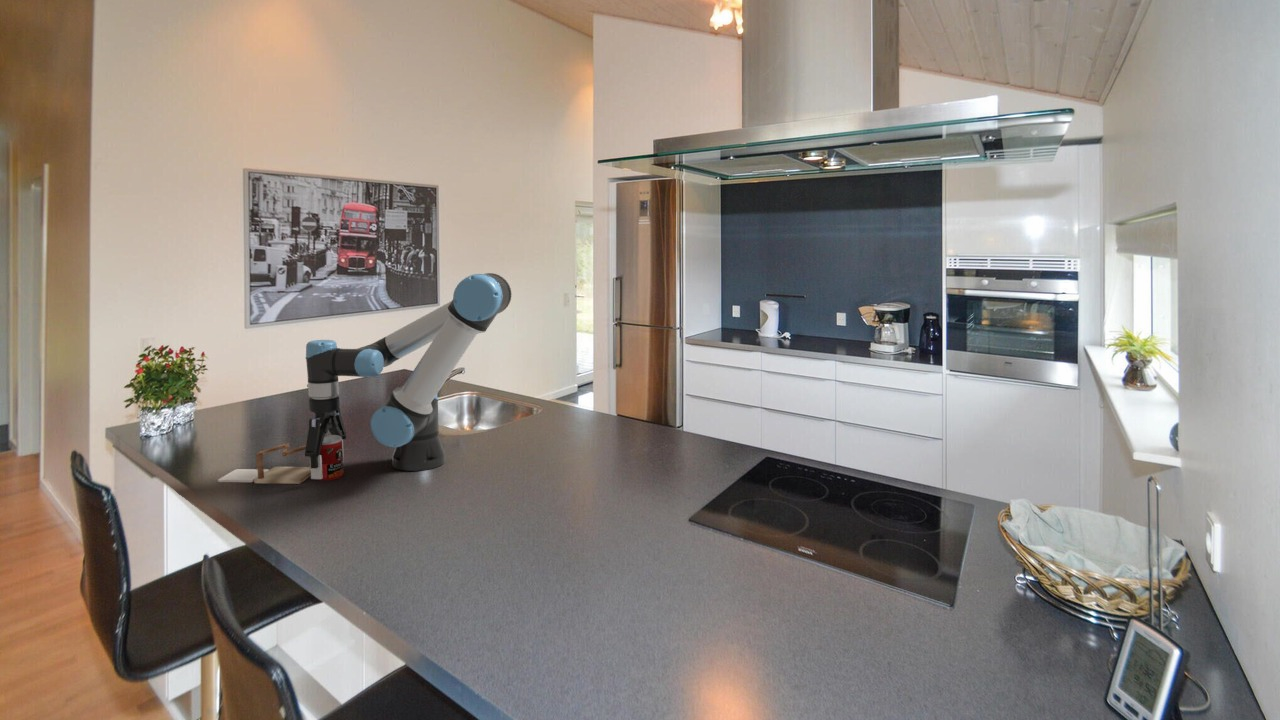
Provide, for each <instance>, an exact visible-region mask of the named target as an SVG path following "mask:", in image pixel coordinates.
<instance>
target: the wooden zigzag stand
mask: <svg viewBox="0 0 1280 720" xmlns="http://www.w3.org/2000/svg"><path fill="white" fill-rule="evenodd" d="M289 447H290V443H289V442H285V443H284V444H280V445H277V446H273V447H270V448H267V449H264V450H260V451H258V452H256V453H255V456H256V466H257V467H256V469H257V471H258V478H256V479H255V480H254V481H253V482H254V484H289V485H290V484H295V485H296V484H297V485H300V484H302V483H304V481H306V480H307V479H308V478H311V468H310V466H274V467H272V468H270V469H269V471H267V472H266V473H264V470H263V469H264V461H263V458H264V457H263V456H264V455H266V454H269V453H273V452H276V451H279V450H282V449H283V451H282V453H281V455H282V457H287V456H289V455H292V454H295V453H299V452H302V451H305V449H306V444H305V445H301V446H298V447H296V448H294V449H289ZM308 461H309V462H308V463H309V465H310V456H308Z"/></svg>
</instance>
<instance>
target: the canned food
mask: <svg viewBox="0 0 1280 720" xmlns="http://www.w3.org/2000/svg"><path fill="white" fill-rule="evenodd" d="M342 440H343V439H342V437H341V436H338V435H331V434H325V436H324V440H323V443H322V447H321V451H320V454H319V455H321V458H322V475H323V478H322V479H315V480H317V481H322V482H323V481H324V482H325V481H333V480H334V481H335V480H338V479H340V478H341V477H343V475H344V471H345V469H344V462H343V453H344V447H343V448H342Z"/></svg>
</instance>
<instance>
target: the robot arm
mask: <svg viewBox="0 0 1280 720" xmlns="http://www.w3.org/2000/svg"><path fill="white" fill-rule="evenodd" d="M511 289H512V288H511V287H510V284H509V283H508V281H507V280H506V279H505V278H504V277H503V276H501V275H500V274H497V273H491V272H487V273H474V274H471V275H470V274H469V275H468V276H466V277H464V278H463V279H462V280H461V281H460V282H458V283H457V286H456V287H455V288H454V291H453V294H452V295H453V296H452V300H451V301H449V302H447V303H444V304H443V305H442V306H440V307H437V308H436V309H434V310H432V311H430V312H429V313H427V314H425V315H423V316H421V317H420V318H417V319H416V320H413V321H412V322H410V323H408V324H406V325H405V326H403V327H401V328H399V329H398V330H395V331H393V332H392V333H390V334H388V335H386V336H384V337H382V338H381V339H378V340H376V341H374V342H373V343H369V344H368V345H365V346H362V347H357V348H340V347H339V348H338V345H337V342H336V341H335V340H333V339H315V340H310V341H307V343H306V344H305V345H306V346H305V360H306V371H307V384H306V387H307V390H308V396H309V398H308V408H309V411H310V412H311V413H313V414H315V416H314V418H310V419H309V420H308V431H307V437H306V444H305V445H306V449H304V456H305V457H309V456H310V464H309V467H310V468H311V476H310V479H311V480H316V479H322V478H323V475H322V458H321V455H319V454H320V451H321V447H322V443H323V440H324V436H325V435H327V434H328V431H329V434H330V435H338V436H341V437H342V448H343V449H344V440H347V430H346V427H345V424H344V420H343V417H342V415H341V408H340V406H341V405H340V397H339V396H338V395H340V384H339V377H357V378H358V377H361V378H371V377H373V378H376V377H379V376H380V375H381V373H382V372H383V370H384V368H385V367H388V366H390V365H392V364H393V363H395V362H396V361H398V360H400V359H402V358H404V357H405V356H407V355H409V354H412V353H413V352H414V351H417V350H418V349H421V348H422V347H424V346H426V345H428V344H429V343H430V345H429V347H427V349H426V351H425V352H424V354H423V355H422V357H421V358H420V360H419V361H418V362H417V365H416V366H415V367H414V369H413V371H412V372H411V374H410V375H409V377H408V378H407V380H406V381H405V383H404V385H403V386H400V387H399V386H398V387H396V388H394V389H393V390H392V392H391V394H390V395H389V397H388V398H387V400H386V401H385V403H384V404H383V405H382V407H379V408H378V409H376V411H375V412H374V413H373V414H372V416H371V419H370V424H369V425H370V429H371V432H372V435H373V437H374V438H375V439H376V441H377V442H378V443H380V444H382V445H383V446H386V447H389V448H394V451H393V454H392V456H391V460H392V461H391V464H392V467H393V468H395V469H397V470H400V471H408V472H409V471H410V472H417V471H419V472H420V471H425V470H430V469H435V468H437V467H440V466H442V465H444V464H445V463H446V453H445V449H444V447H443V444H442V441H441V439H440V436H439V435H440V434H439V398H438V393H439V392H440V390H441V388H442V387H443V385H444V384H445V382H446V381H447V380H448V378H449V377H450V375H451V374H452V372H453V370H454V369H455V368H456V366H457V365H458V364H459V362H460V360H461V359H462V357H463V356H464V354H465V353H466V351H467V349H468V348H469V346H470V345H471V344H472V342H473V341H474V338H476V336H477V335H478V334H481V333H486V332H487V330H488V329H489V327H490V325H492V323H493V321H494V320H495V318H496V316H497V315H498V314H500V313H502V312H503V311H505V310H506V309H507V308H508V306H509V305H510V303H511V300H512V290H511ZM344 456H345V455H344V452H343V463H344V462H345V457H344Z"/></svg>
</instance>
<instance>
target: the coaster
mask: <svg viewBox="0 0 1280 720" xmlns="http://www.w3.org/2000/svg"><path fill="white" fill-rule="evenodd" d="M263 470H264V473H266V472H267V471H269V470H270V469H267V468H263ZM256 478H258V471H257V468H255V469H254V468H236V469H234V470H232V471H230V472H229V473H226V475H224V476H222V477H220V478H217V482H218V483H253V482H254V480H255V479H256Z"/></svg>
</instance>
